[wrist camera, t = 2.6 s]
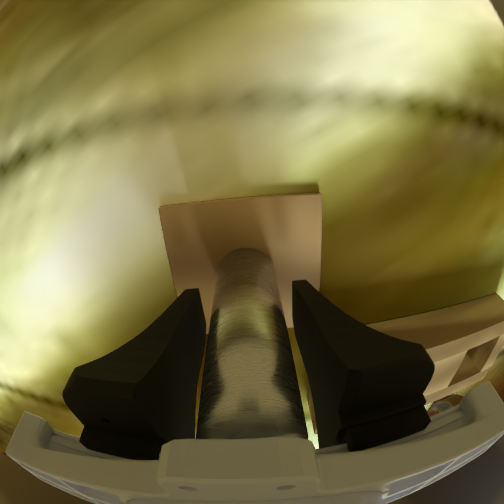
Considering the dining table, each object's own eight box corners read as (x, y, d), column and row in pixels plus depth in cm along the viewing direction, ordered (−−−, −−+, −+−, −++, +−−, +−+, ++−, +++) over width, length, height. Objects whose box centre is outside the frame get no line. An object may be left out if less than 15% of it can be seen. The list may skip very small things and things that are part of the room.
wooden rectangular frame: (468, 356, 20) (483, 378, 17) (307, 400, 20) (314, 434, 17) (496, 293, 17) (518, 314, 14) (314, 332, 17) (327, 372, 14)
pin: (275, 295, 15) (303, 457, 7) (221, 299, 15) (208, 462, 7) (273, 245, 14) (313, 412, 5) (214, 250, 14) (183, 419, 5)
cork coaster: (315, 320, 17) (316, 324, 16) (188, 330, 17) (187, 334, 16) (319, 192, 13) (321, 194, 13) (160, 206, 13) (158, 208, 13)
